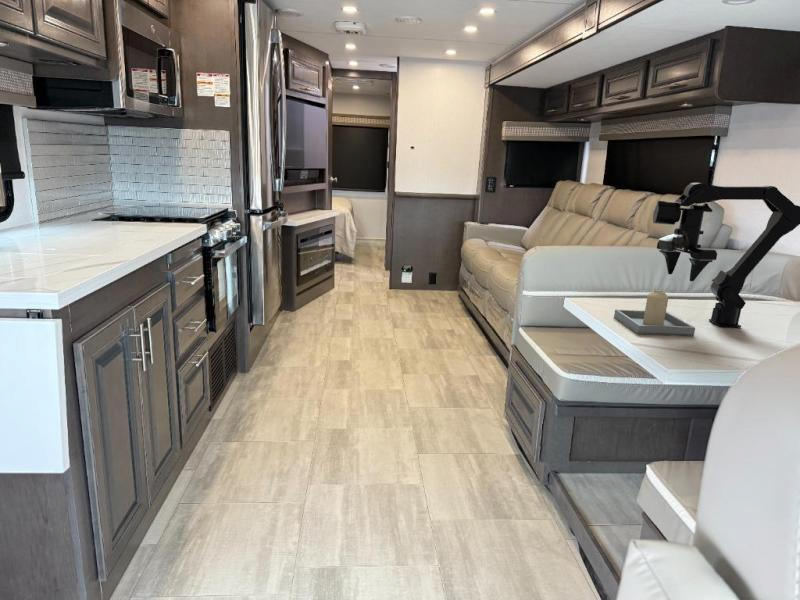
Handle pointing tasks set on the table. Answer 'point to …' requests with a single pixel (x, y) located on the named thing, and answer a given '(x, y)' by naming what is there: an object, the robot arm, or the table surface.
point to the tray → (670, 327)
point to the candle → (655, 308)
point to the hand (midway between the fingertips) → (680, 277)
